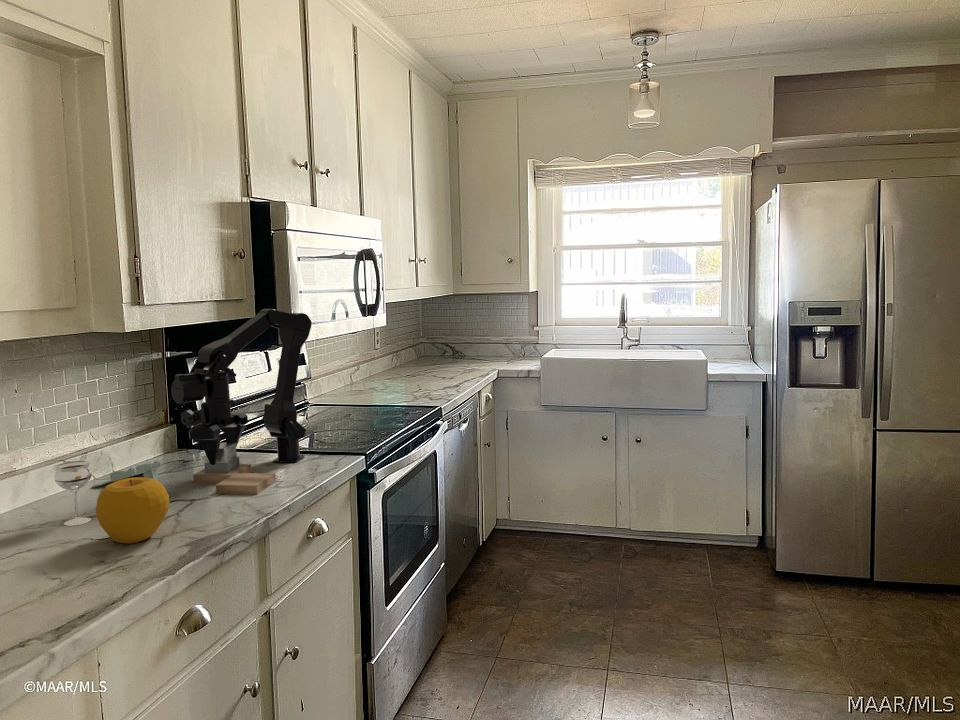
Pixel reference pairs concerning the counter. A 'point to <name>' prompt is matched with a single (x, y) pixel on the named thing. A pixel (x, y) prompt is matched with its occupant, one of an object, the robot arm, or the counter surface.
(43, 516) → the counter surface
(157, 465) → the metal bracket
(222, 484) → the stand
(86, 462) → the wineglass
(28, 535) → the counter surface
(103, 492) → the apple
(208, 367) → the robot arm
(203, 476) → the stand
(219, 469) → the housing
